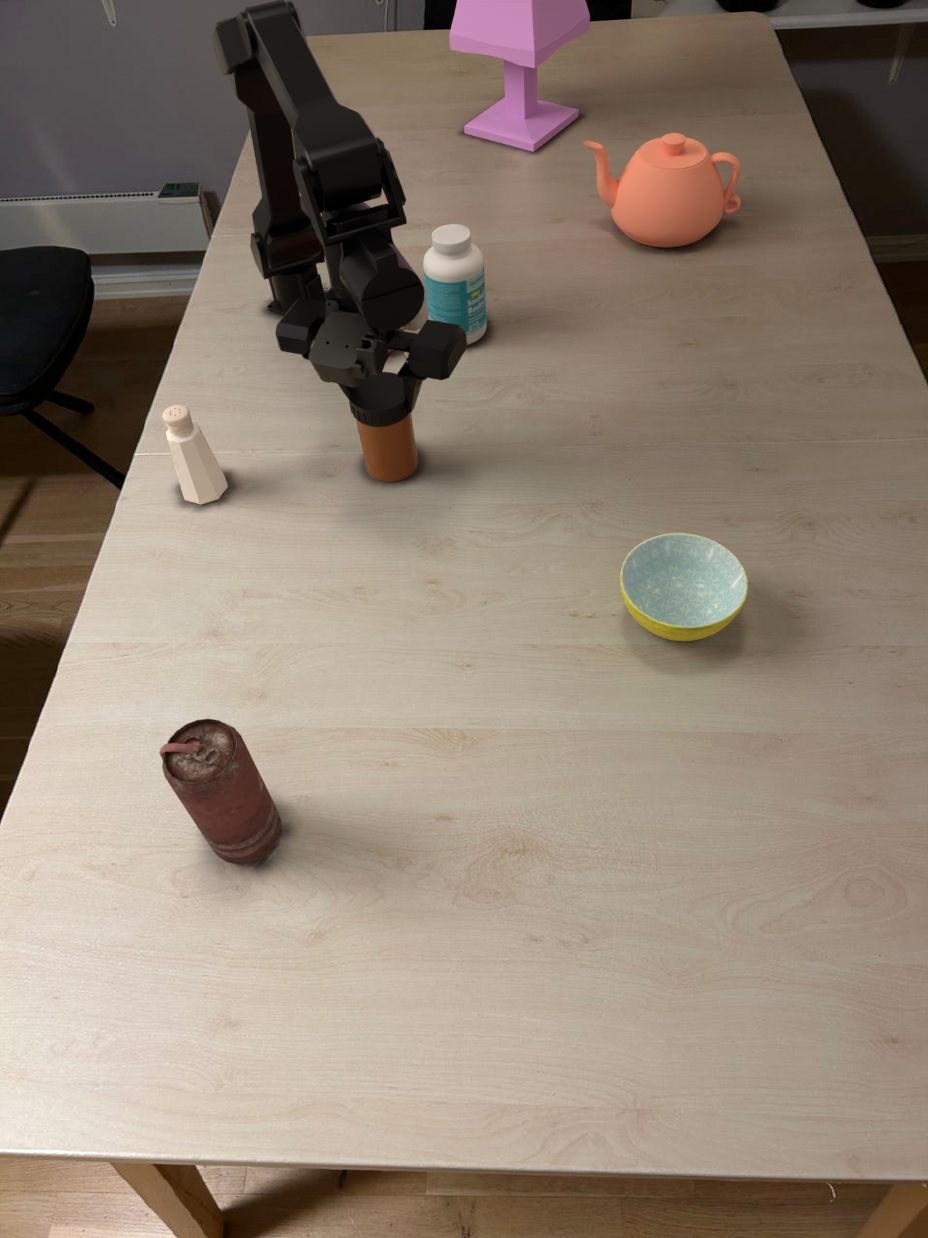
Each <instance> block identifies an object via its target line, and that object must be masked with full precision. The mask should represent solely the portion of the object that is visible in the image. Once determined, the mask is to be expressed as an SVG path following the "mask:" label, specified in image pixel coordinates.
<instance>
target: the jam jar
mask: <svg viewBox="0 0 928 1238" xmlns="http://www.w3.org/2000/svg"><path fill="white" fill-rule="evenodd" d="M355 420H356V419H355ZM356 426H357V430H358V431H357V432H358V436H359V440H360V445H361V450H362V456H363V460H364V461H363V462H364V465H365V470H366V472H367V474H368V475H369V476H370V477H371V478H372V479H374V480H376V481H379V482H382V483H383V482H384V483H394V482H395V483H396V482H399V481H403V480H405V479H406V478H408V477H410V476H412V474H414V472H416V470H417V468H418V465H419V457H418V449H417V444H416V443H417V442H416V437H415V429H414V422H413V414H412V413H409V414H408V415H407V417H405V418H404V419H403V420H401V421H400V422H398V423H395V424H393V425H389V426H383V427H373V426H368V425H365V424H362V423H360V422H359V421H358V420H356Z"/></svg>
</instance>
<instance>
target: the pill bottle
mask: <svg viewBox="0 0 928 1238" xmlns="http://www.w3.org/2000/svg"><path fill="white" fill-rule="evenodd" d="M422 269H423V277H424V288H425V295H426V305H427V315H428V320H434V321H440V322H446V323H452V324H458V325H460V326H462V327H463V329H464V330H465V332H466V338H467V346H468V345H470V344H473V343H475V342H477V341H479V340H480V339H481V338H482V337H483V336H484V335H485V333H486V331H487V326H488V320H487V319H488V318H487V301H486V300H487V299H486V282H485V281H486V279H485V278H486V277H485V259H484V255H483V252H482V251H481V249H480V248H479V246H477V245H476V244H474V243H472V233H471V230H470V229H469V228H468V227H467V226H465V225H463V224H458V223H450V224H449V223H448V224H444V225H441V226H438V227H436V228H435V229H434V230H433V231H432V233H431V246H430V248H428V249H427V251H426V252H425V254H424V256H423V260H422Z"/></svg>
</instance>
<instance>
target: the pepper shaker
mask: <svg viewBox="0 0 928 1238" xmlns="http://www.w3.org/2000/svg"><path fill="white" fill-rule="evenodd" d="M161 417H162V420H163V421H164V422H165V425H166V428H167V430H166V431H165V434H166V439H167V443H168V447H169V450H170V454H171V457H172V460H173V464H174V468H175V471H176V475H177V479H178V482H179V486H180V489H181V493H182V496H183V499H184V500H185V501H186V502H189V503H193V504H197V505H204V504H205V505H206V504H208V503H212V502H214V501H217V500H219V499H220V498H221V497H222V495H223V494H224V493H225V492H226V490H227V489H228V488H229V484H228V482H227V479H226V477H225V474H224V472H223V470H222V468H221V466H220V464H219V462H218V460H217V458H216V456H215V454H214V453H213V450H212V448H211V446H210V445H209V442H208V441H207V439H206V437H205V435H204V433H203V431H202V429H201V427H200V425H199V424H198V423H197V422H195V421H193V419H192V415H191V413H190V408H188V406H186V405H183V404H173V405H171V406H169V407H167V408H166V409H165V410H163V413H162V416H161Z"/></svg>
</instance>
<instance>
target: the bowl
mask: <svg viewBox="0 0 928 1238" xmlns="http://www.w3.org/2000/svg"><path fill="white" fill-rule="evenodd" d="M619 572H620V573H619V582H620V584H619V585H620V586H619V587H620V591H621V595H622V600H623V602H624V604H625V606H626V608H627V610H628V612H629V613H630V614H631V616H632V617H633V618H634V620H635V621H636V622H637V623H638V624H639V625H640V626H641V627H642V628H644V629H646V630H647V631H648V632H649V633H651V634H653V635H655V636H657V637H660V638H662V639H666V640H670V641H678V642H690V641H697V640H701V639H705V638H709V637H710V636H713V635H714V634H716V633H718V632H720V631H721V630H723V629H724V628H725V627H727V626H728V625H729V624H730V623H731V622H732V621H733V620H734V618H736V616H737V615H738V614H739V612H740V611H741V609H742V608H743V606H744V604H745V602H746V599H747V596H748V592H749V581H748V576H747V572H746V569H745V568H744V566H743V564H742V562H741V561H740V559H739V558H738V557H737V556H736V555H735V553H733V552H732V551H731V550H729V549H728V548H727V547H726V546H724V545H723V544H721V543H720V542H717V541H715V540H713V539H711V538H708V537H705V536H702V535H700V534H699V535H698V534H695V533H694V534H693V533H687V532H671V533H670V532H669V533H663V534H658V535H656V536H653V537H649V538H647V539H645V540H643V541H641V542H640V543H639V544H637V545H636V546H634V547H633V548H632V549H631V550H630V552H629V553H628V554H627V555H626V556H625V558H624V560H623V562H622V564H621V567H620V571H619Z"/></svg>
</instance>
